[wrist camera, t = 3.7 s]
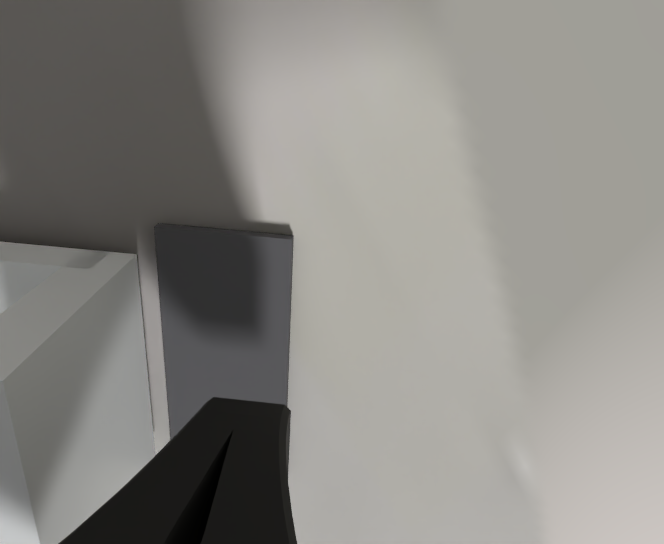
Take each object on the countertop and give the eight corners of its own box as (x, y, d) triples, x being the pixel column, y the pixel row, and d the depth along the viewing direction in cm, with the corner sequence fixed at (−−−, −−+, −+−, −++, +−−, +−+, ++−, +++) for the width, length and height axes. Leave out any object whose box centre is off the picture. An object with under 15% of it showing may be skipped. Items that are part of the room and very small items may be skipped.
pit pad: (284, 474, 13) (283, 481, 13) (175, 462, 13) (172, 468, 13) (293, 235, 10) (291, 239, 10) (158, 223, 10) (154, 227, 10)
